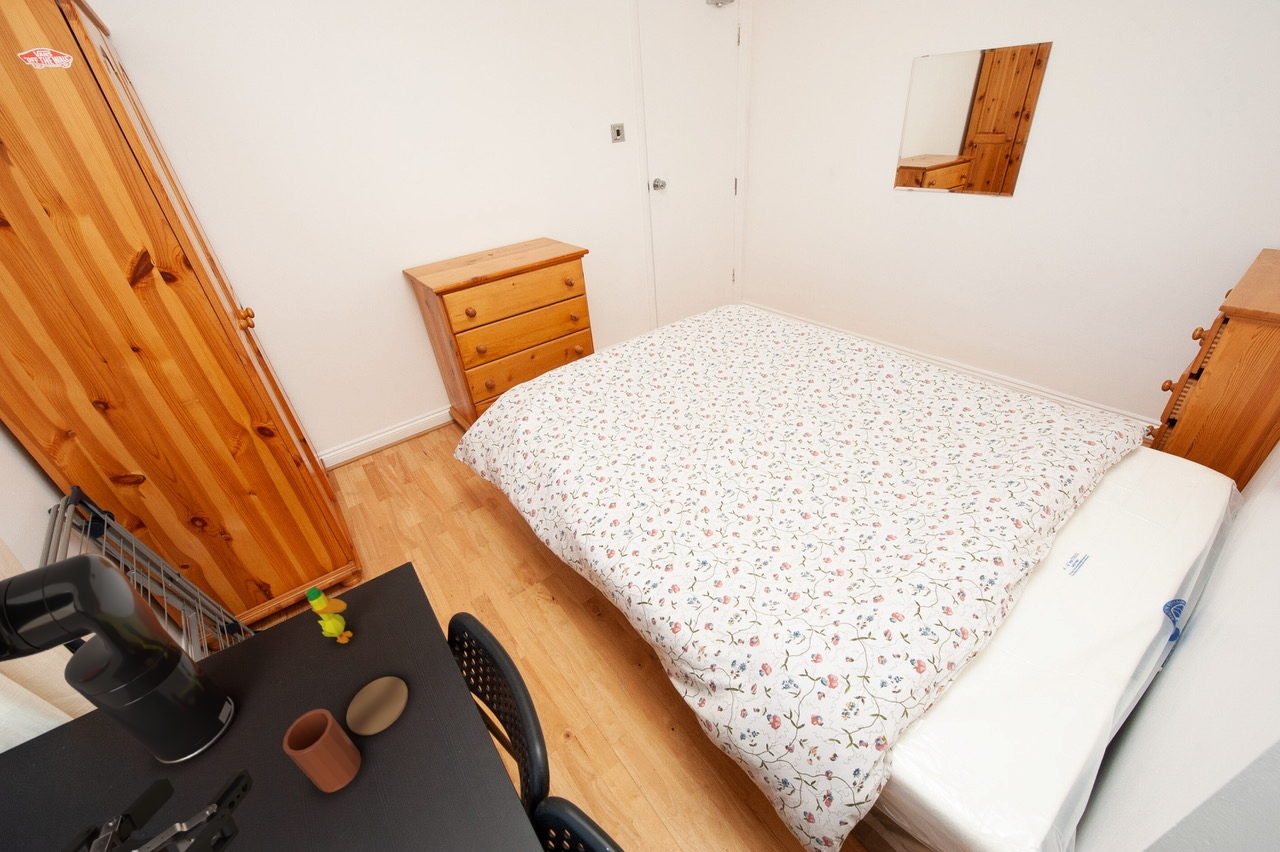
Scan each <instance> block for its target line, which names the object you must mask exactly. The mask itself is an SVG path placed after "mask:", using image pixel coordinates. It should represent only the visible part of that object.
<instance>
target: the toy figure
mask: <svg viewBox="0 0 1280 852" xmlns="http://www.w3.org/2000/svg"><path fill="white" fill-rule="evenodd" d="M305 595H306V596H307V601H308V603H309V604H310V605H311V607H312V608H311V611H312V612H314V613H316V614H317V615H318V616H319V617H320V618H321V620H317V622H318V624H319V625H320V626H321V629H322V630H323V631H321V634H323V636H324V637H327V638H329V637H333V638H334V637H336V638H337V640H336V642H337V643H340V644H346V643H348V642H349V641H350V638H352V637H353V636H354V633H353V632H352V631H350V630H346V631H344V630H345V626H346V621H345V617H344V616H342V615H340V614H339V613H343V612H344V611H345V610H346V609H347V605H348V604H347V603H346V602H345V601H343V600H341V599H338V598H332V597H330V598H329V597H327V596H326V595H325V593H324V592H323V590H321V589H318V587H316V586H313V587H311V588H309V589H308V590H306V592H305Z"/></svg>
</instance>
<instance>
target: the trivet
mask: <svg viewBox="0 0 1280 852" xmlns="http://www.w3.org/2000/svg"><path fill="white" fill-rule="evenodd" d="M408 699H409V689H408V686H407V685H406V683H405V681H404V680H402V679H401V678H399V677H397V676H383V677H379V678H377V679H375V680H373V681H371V682H369V683H368V684H367V685H365V686H364V687H362V689H360V691H359V692H357V693H356V694H355V696H354V697H353V699H352V700H351V702H350V703H349V706H348V708H347V712H346V716H345V717H346V718H345V720H346V724H347V726H348V728H349V730H351V732H352V733H354V734H356V735H358V736H372V735H375V734H378V733H380V732H382V731H385V730H386V729H388V727H390V726H391V725H392V724H394V723H395V722H396V721H397V719H399V718H400V716H401V715H402V713H403V711H404V710H405V708H406V706H407V703H408Z"/></svg>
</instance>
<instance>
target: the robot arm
mask: <svg viewBox="0 0 1280 852" xmlns="http://www.w3.org/2000/svg"><path fill="white" fill-rule="evenodd" d="M91 634H94V635H93V636H92V637H90V638H89V639H88V640H87V641H86V642H84V643H83V644H82V645H81V646H80V647H79V648H78V649H77V650H76V651H75V652H74V653H73V654H72V655H71V657H70V659H69V660H68V661H67V664H66V665H65V668H64V673H63V674H64V680H65V682H66V684H68V685H69V686H70V687H71V689H73V690H74V691H76V692H77V693H78V694H79V695H80V696H82V697H83V698H84V699H85V700H87V701H88V702H89V703H90V704H92V706H94V707H96V709H98V710H99V711H100V712H102V713H103V714H104V715H105V716H106V717H108V718H109V719H110V720H111V721H112V722H113V723H115V724H116V725H117V726H118V727H119V728H121V729H122V730H123V731H124V732H125V733H126V734H128V735H129V736H130V737H132V738H133V739H134V740H135V741H136V742H138V744H139V745H141V746H142V747H143V748H145V750H147V751H148V752H149V753H150V754H151V755H153V756H154V758H155V759H156V760H157V761H159V762H160V763H161V764H163V765H166V766H177V765H182V764H184V763H187V762H190V761H192V760H194V759H196V758H197V757H199V756H200V755H202V754H204V753H205V752H207V751H208V750H209V749H211V748H212V747H213V746H214V745H215V744H217V743H218V741H219V740H221V738H222V737H223V736H224V735H225V734H226V733H227V731H228V730H229V728H230V727H231V725H232V723H233V721H234V719H235V715H236V704H235V702H234V701H233V700H232V699H231V698H230V696H227V694H225V693H224V691H223V690H222V689H221V688H220V687H219V686H218V685H217V683H216V682H214V681H213V679H212V678H211V677H210V676H209V675H208V674H207V673H206V672H205V671H204V669H202V667H200V666H199V664H198V663H197V662H196V661H195V660H194V659H193V658H192V657H191V656H190V655H189V654H188V653H187V651H186V650H185V649H184V648H183V647H182V646H181V645H180V644H179V643H178V642H177V641H176V640H175V638H174V637H172V636H171V634H170V633H169V632H168V631H167V630H166V629H165V627H164V626H163V625H162V624H161V621H160V620H159V618H158V616H157V615H156V613H155V612H154V610H153V609H152V607H151V606H150V605H149V603H147V601H146V600H145V599H144V598H143V596H142V594H140V593H139V591H138V590H137V589H136V587H135V586H134V584H133V583H132V582H131V580H129V578H128V577H127V576H126V574H125V573H124V572H123V571H122V569H121V568H120V567H119V566H118V565H117V564H116V563H115V562H114V561H113V560H112V559H110V558H109V557H107V556H105V555H103V554H100V553H96V552H85V553H81V554H77V555H74V556H71V557H67V558H64V559H61V560H58V561H56V562H52V563H49V564H46V565H43V566H41V567H36V568H34V569H31V570H28V571H25V572H22V573H19V574H16V575H13V576H10V577H7V578H4V579H1V580H0V663H4V662H9V661H14V660H18V659H19V660H20V659H23V658H29V657H31V656H35V655H38V654H41V653H45V652H47V651H50V650H52V649H55V648H58V647H60V646H63V645H66V644H69V643H71V642H74V641H76V640H79V639H81V638H84V637H86V636H89V635H91ZM253 781H254V780H253V778H252V776H251V774H250V771H249V770H248V769H247V768H242V769H240V768H239V769H237V770H236V771H235V772H234V773H233V774H232V775H231V776H230V778H228V780H227V781H226V782H225V783H224V784H223V786H222V787H221V788H220V789H219V790H218V791H217V793H215V795H214V796H213V797H212V798H211V800H210V801H209V802H208V803H207V807H205V808H204V809H202V810H201V811H199V812H198V813H197V814H195V815H194V816H191V818H189V819H188V820H187V821H185V822H177V823H174V824H172V825H171V826H170V827H168V828H167V829H165V830H164V831H162V832H161V833H160V834H157V836H149V837H147V838H144V839H136V838H133V832H140V831H141V830H142V829H143V828H144V826H146V825H147V823H149V822H150V821H151V819H152V818H153V817H154V816H155V815H156V814H158V812H159V811H160V810H161V808H162V807H163V806H164V805H165V804H166V803H168V801H169V800H170V799H171V798H172V797H173V795H174V792H175V790H174V787H173V785H172V783H171V781H170V780H169V778H168V777H167V778H166V777H164V778H157V779H156V780H155V781H154V782H153V783H152V784H151V785H150V786H149V787H148V788H146V789H145V790H144V791H142V793H141V794H140V795H139V796H138V797H137V798H136V799H135V800H134V801H133V802H132V803H131V804H130V805H129V806H128V807H127V808H126V809H125V810H123V812H121V814H118V815H115V816H113V817H111V818H110V819H108V820H107V821H106V822H105V823H104V824H103V825H100V826H98V825H97V824H96V823H94V824H90V825H88V826H86V827H85V828H84V829H82V830H81V831H80V832H79V833H78V834H77V835H76V836H75V837H74V838H73V839H72V840H71V841H70V842H69V843H68V844H67V845H66V846H65V847H64V848H63V849H62V850H61V851H60V852H80V851H81V850H82V849H83V848H84V850H85V851H86V852H170V850H169V849H168V846H167V845H170V844H175V845H176V848H177V850H178V851H179V852H226V851H227V849H228V848H229V846H230V845H231V844H232V843H233V842H234V840H235V839H236V838H237V836H238V835H239V833H240V829H239V826H238V825H237V822H236V821H235V819H234V817H233V816H232V814H233V813H234V812H235V810H237V808H238V807H239V805H240V804H241V803H242V802H243V801H244V799H245V798H246V796H248V794H249V793H250V792H251V791H252V788H253ZM203 825H204V828H203V829H202V830H201V832H200V833H199V834H198V835H197V836H195V837H194V838H189V836H190V834H192V833H193V832H195V831H196V830H197V829H199V828H200V827H202V826H203ZM216 838H217V839H216ZM214 839H216V841H215V842H214V843H213V844H212V845H211V842H212V841H213V840H214Z"/></svg>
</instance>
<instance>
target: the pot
mask: <svg viewBox="0 0 1280 852" xmlns="http://www.w3.org/2000/svg"><path fill="white" fill-rule="evenodd" d="M282 741H283V742H282V748H283V750H284V752H285V753H286V754H287V755H288V756H289V758H290V759H291V760H292V761H293V762H294V763H295V764H296V765H297V766H298V767H299V769H300V770H301V771H302V772H303V773H304V774H305V775H306V777H308V779H309V780H310V781H311V782H312V783H313V784H314V785H315V786H316V788H317V789H319V790H320V791H321V792H323V793H333V792H337V791H339V790H342V788H344V787H346V786H347V785H349V783H350V782H351V781H353V779H354V778H355V776H356V775H357V774H358V772H359V770H360V767H361V764H362V753H361V752H360V750H359V749H358V748H357V746H356V745H355V744H354V743H353V741H352V739H350V737H349V735H348V734H347V733H346V732H345V730H344V729H343V727H342V726H341V725H340V724H339V722H338V721H337V720H336V718H335V717H334V716H333V715H332V713H331V712H330V711H329V710H327V709H325V708H317V709H311V710H309V711H307V712H306V713H304V714H302V715H301V716H300V717H299V718H297V719H296V720H295V721H294V722H293V723H292V724H291V726H290V727H289V728H288V729H287V731H286V733H285V735H284V736H283V740H282Z"/></svg>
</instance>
